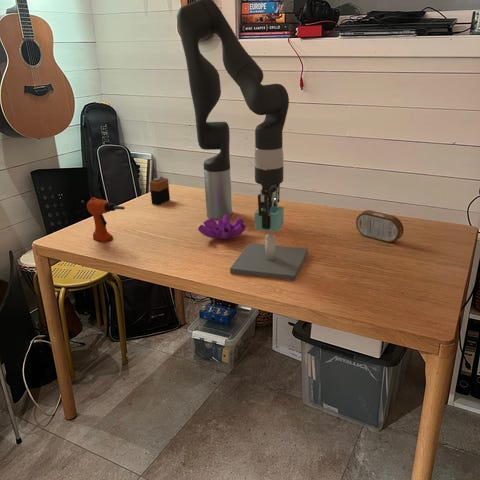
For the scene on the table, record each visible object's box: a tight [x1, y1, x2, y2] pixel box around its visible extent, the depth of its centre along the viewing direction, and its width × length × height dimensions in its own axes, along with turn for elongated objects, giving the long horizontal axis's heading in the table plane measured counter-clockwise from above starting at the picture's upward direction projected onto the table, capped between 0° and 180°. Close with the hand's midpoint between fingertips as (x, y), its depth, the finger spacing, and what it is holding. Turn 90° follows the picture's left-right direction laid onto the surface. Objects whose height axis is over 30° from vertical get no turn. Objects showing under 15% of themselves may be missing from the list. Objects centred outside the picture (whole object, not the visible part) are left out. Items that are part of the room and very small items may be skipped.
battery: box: [149, 175, 171, 206], centre depth 190 cm, size 4×7×10 cm, turn 152°
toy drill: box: [86, 197, 126, 243], centre depth 153 cm, size 5×18×14 cm, turn 53°
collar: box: [254, 205, 285, 233], centre depth 132 cm, size 6×6×5 cm
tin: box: [355, 209, 404, 244], centre depth 150 cm, size 15×3×8 cm, turn 47°
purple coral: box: [197, 215, 247, 240], centre depth 155 cm, size 11×15×10 cm
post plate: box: [229, 233, 309, 282], centre depth 136 cm, size 18×18×9 cm
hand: (269, 223), depth 133 cm, fingers closed on collar, 6 cm apart
